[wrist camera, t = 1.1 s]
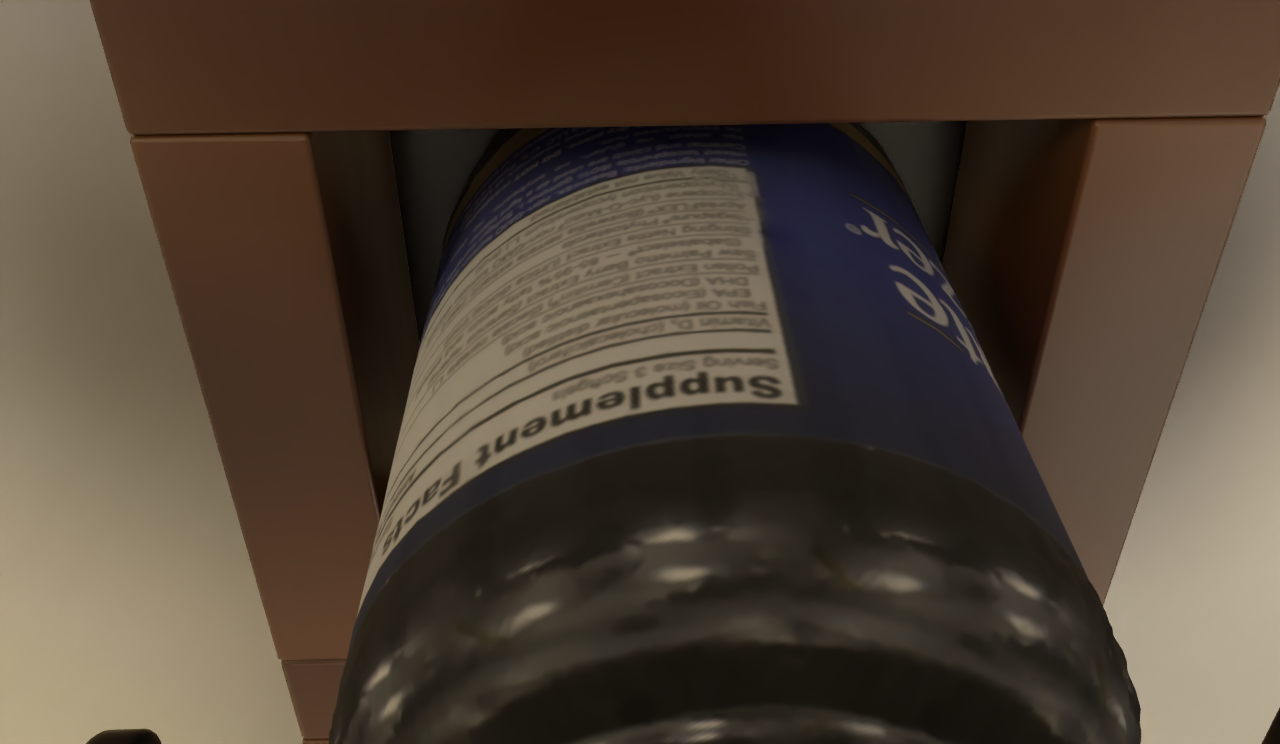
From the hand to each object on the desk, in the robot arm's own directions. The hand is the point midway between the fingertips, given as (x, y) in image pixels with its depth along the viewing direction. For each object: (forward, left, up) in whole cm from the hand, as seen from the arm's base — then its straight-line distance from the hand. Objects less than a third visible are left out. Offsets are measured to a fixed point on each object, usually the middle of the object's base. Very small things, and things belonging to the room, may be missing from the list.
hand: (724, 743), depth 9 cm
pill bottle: (0, 0, -8) cm, 8 cm away
